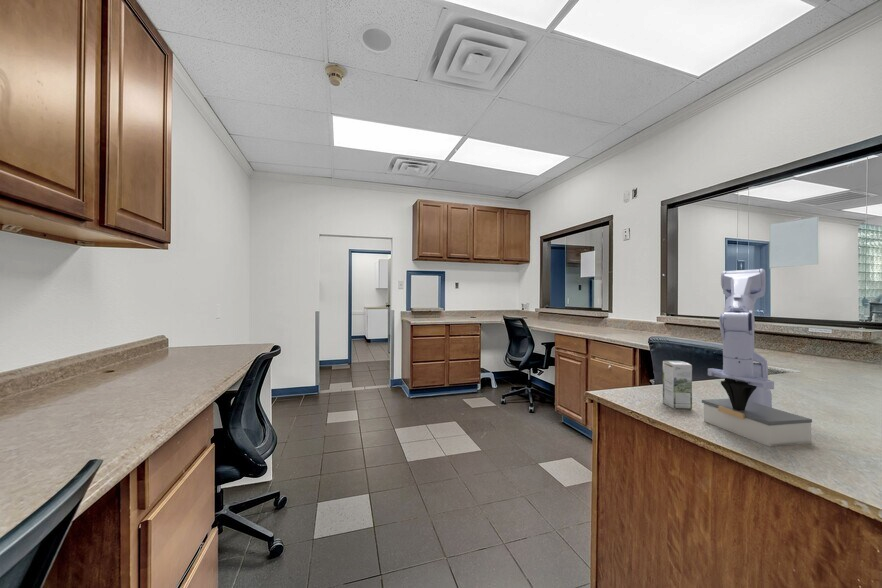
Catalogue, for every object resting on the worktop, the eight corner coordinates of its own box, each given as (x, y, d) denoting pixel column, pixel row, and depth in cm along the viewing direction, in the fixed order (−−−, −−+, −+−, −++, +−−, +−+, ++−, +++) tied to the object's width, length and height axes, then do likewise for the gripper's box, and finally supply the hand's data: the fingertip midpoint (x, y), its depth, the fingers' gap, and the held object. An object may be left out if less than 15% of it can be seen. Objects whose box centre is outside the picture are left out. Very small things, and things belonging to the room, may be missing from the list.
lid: (738, 402, 92) (738, 398, 92) (812, 425, 75) (811, 419, 76) (699, 404, 90) (699, 399, 90) (766, 427, 74) (766, 421, 74)
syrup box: (680, 403, 105) (679, 360, 105) (693, 409, 99) (692, 363, 99) (662, 403, 105) (661, 360, 106) (673, 409, 99) (672, 363, 100)
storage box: (739, 418, 91) (739, 401, 92) (811, 443, 76) (810, 422, 76) (703, 421, 90) (703, 403, 90) (769, 446, 74) (769, 425, 74)
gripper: (697, 353, 89) (699, 401, 89) (756, 363, 74) (757, 421, 74) (719, 352, 90) (720, 400, 90) (780, 362, 75) (782, 419, 75)
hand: (738, 409), depth 82 cm, fingers closed
